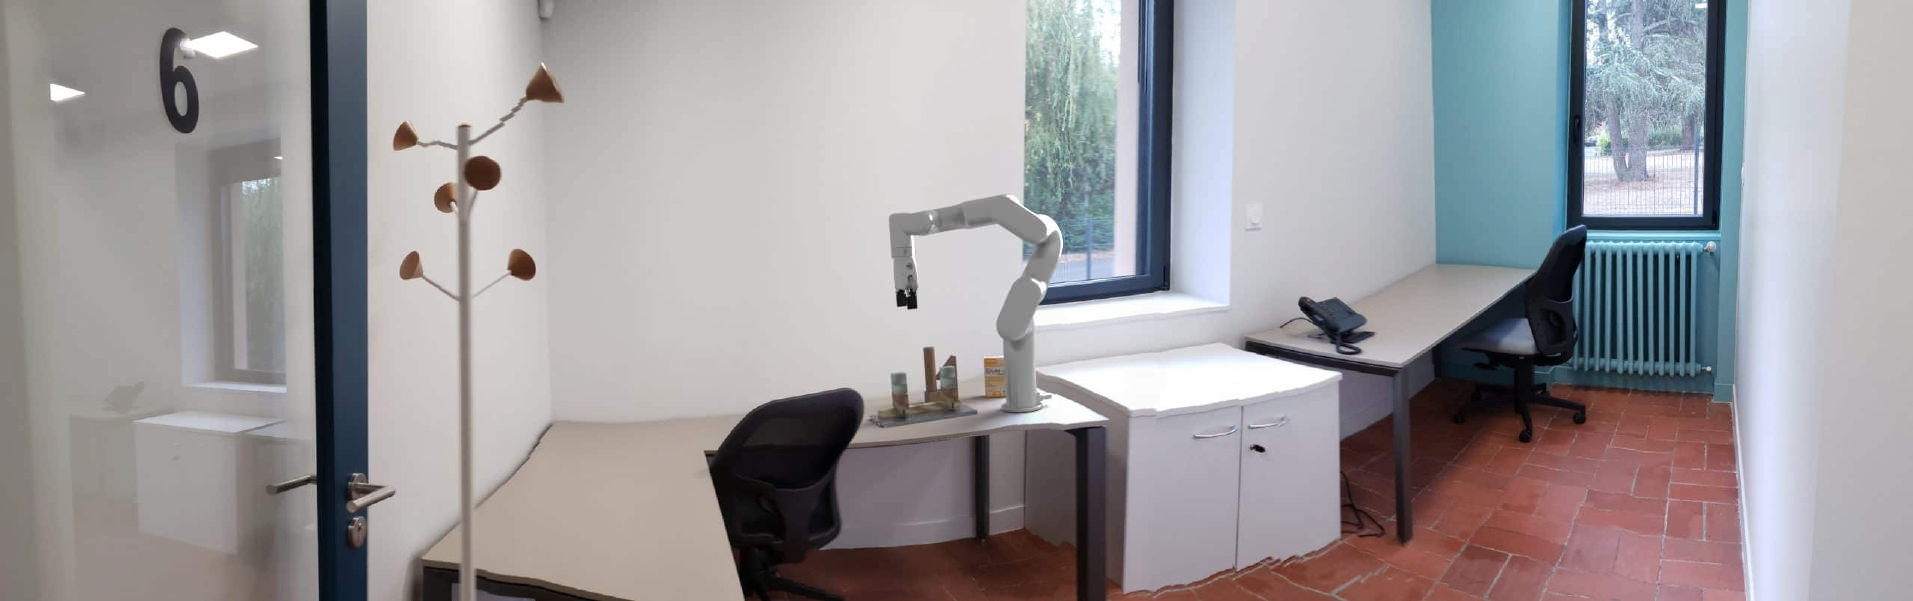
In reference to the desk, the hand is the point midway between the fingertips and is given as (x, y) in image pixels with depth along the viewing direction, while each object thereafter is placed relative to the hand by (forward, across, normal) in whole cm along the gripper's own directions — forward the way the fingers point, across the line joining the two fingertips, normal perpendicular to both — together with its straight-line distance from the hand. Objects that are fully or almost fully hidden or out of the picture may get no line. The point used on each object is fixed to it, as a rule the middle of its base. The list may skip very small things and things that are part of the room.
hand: (907, 307), depth 326 cm
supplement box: (+32, +2, -30) cm, 44 cm away
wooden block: (+32, +7, -12) cm, 35 cm away
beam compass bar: (+31, -10, +1) cm, 33 cm away
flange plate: (+32, -11, +1) cm, 34 cm away
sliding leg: (+31, -10, +8) cm, 33 cm away
